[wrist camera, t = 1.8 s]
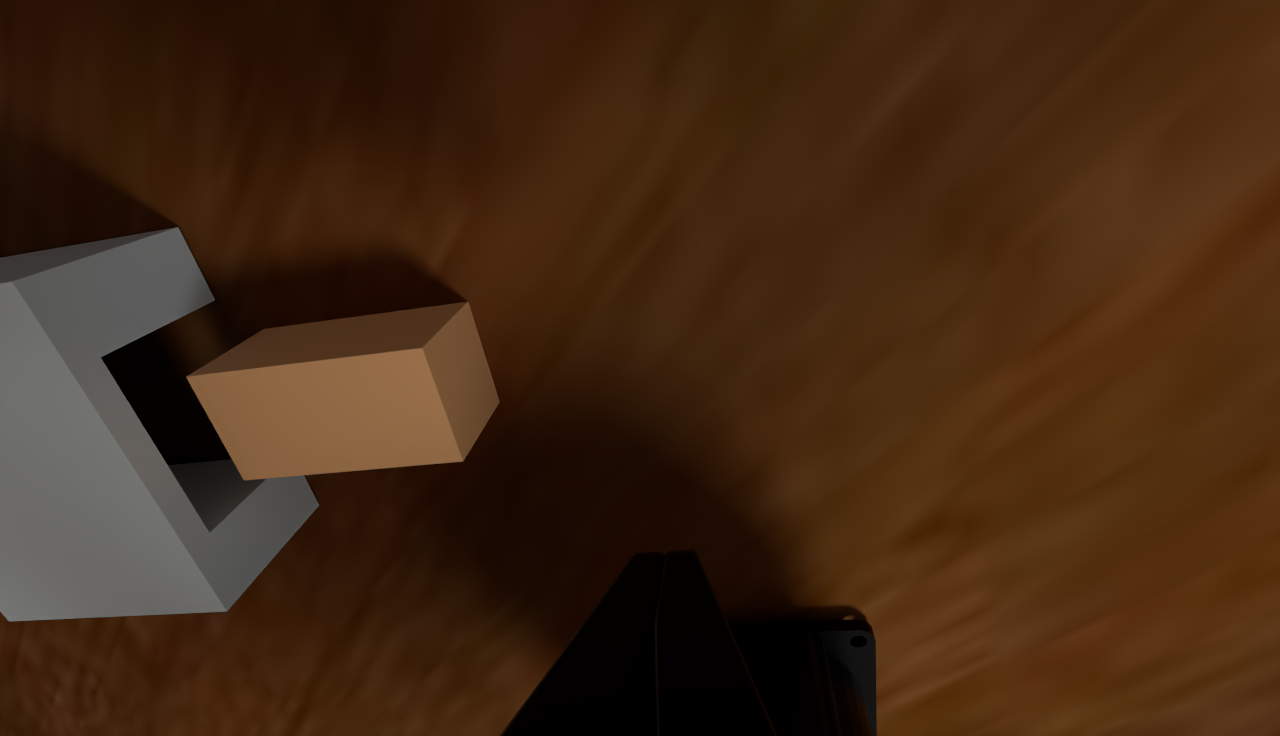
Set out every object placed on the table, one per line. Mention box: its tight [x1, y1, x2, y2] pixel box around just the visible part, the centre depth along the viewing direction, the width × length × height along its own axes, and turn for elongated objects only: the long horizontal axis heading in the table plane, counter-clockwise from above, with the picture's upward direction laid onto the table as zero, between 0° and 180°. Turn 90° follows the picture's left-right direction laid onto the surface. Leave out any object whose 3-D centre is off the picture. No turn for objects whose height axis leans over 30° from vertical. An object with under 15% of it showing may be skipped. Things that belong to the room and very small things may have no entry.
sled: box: [0, 227, 319, 621], centre depth 16 cm, size 9×7×4 cm
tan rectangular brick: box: [186, 302, 500, 480], centre depth 16 cm, size 3×6×3 cm, turn 100°
